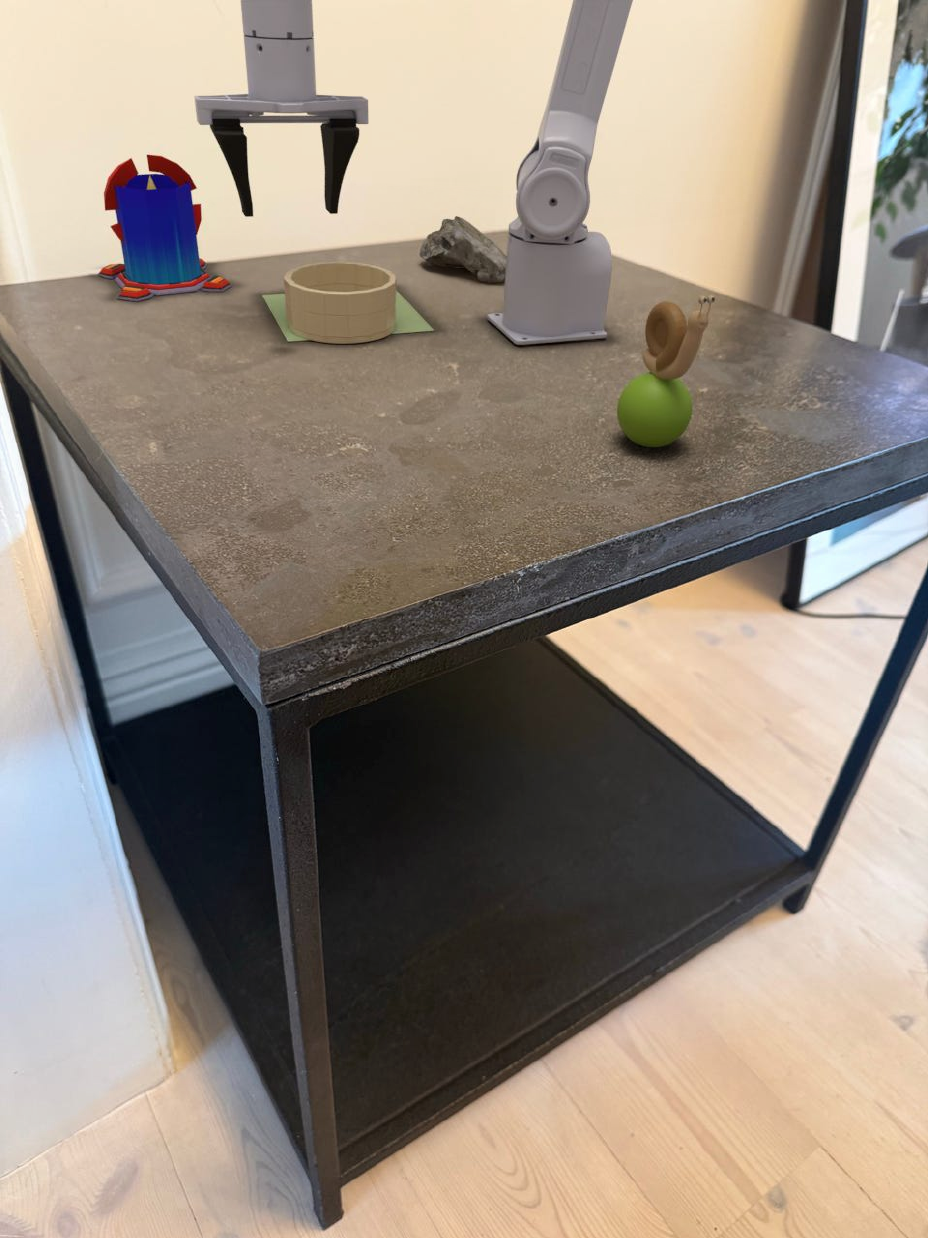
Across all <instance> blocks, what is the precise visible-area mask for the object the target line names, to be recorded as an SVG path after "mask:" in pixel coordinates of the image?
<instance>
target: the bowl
mask: <svg viewBox="0 0 928 1238" xmlns="http://www.w3.org/2000/svg"><path fill="white" fill-rule="evenodd" d="M283 286H284V294H285V303H286V317H287V321H288V327H289V329H290V331H291V332H293V333H294V334H296V335H298V336H300V337H302V338H305V339H308V341H311V342H312V341H313V342H318V343H324V344H339V345H342V344H343V345H346V344H347V345H348V344H350V345H351V344H363V343H368V342H374V341H377V340H381V339H383V338H386V337H388V336H391V335H392V334H391V333H392V332H393V331H394V330H395V328H396V290H397V275H396V274H394V273H393V272H392V271H390V270H389V269H387V268H383V267H381V266H378V265H374V264H369V263H362V262H354V261H325V262H324V261H323V262H313V263H308V264H303V265H299V266H296V267H294V268H292V269H290V270H288V271H286V273H285V275H284V277H283Z"/></svg>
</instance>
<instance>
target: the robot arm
mask: <svg viewBox="0 0 928 1238" xmlns="http://www.w3.org/2000/svg"><path fill="white" fill-rule="evenodd" d="M633 1H634V0H572V4H571V8H570V11H569V15H568V18H567V19H568V20H567V24H566V27H565V31H564V35H563V39H562V44H561V47H560V50H559V51H560V52H559V55H558V58H557V63H556V67H555V71H554V75H553V78H552V79H553V80H552V83H551V87H550V90H549V95H548V98H547V103H546V106H545V109H544V113H543V115H542V118H541V121H540V124H539V128H538V131H537V135H536V139H535V142H534V144H533V146H532V148H531V149H530V150H529V151H528V153H527V154H526V155H525V156H524V158H523V159H522V161H521V163H520V164H519V166H518V169H517V173H516V178H515V184H516V186H515V187H516V193H515V194H516V196H515V207H516V213H517V217H516V218H515V219H514V220H512V221H511V222H510V223H508V233H507V234H508V235H507V243H506V244H507V247H506V256H507V259H506V274H505V278H504V288H503V289H504V291H503V305H502V312H497V313H489V314H487V317H486V318H487V320H488V321H489V322H490V323H491V324H492V325H494V326H495V327H496V328H497V329H498V330H499V331H500V332H501V333H502V334H503V335H505V337H507V338H508V339H509V340H510V341H511V342H513V344H515V345H517V346H524V345H526V346H527V345H537V344H538V345H539V344H548V343H551V344H552V343H561V342H562V343H563V342H577V341H586V340H599V339H606V338H607V337H608V332H607V331H606V330H605V324H606V316H607V310H608V303H609V295H610V286H611V280H612V272H613V257H612V251H611V250H612V249H611V246H610V243H609V241H608V239H607V238H606V236H605V235H604V234H603V233H601V232H599V231H589V229H588V226H587V225H586V223H584V221H585V220H586V218H587V215H588V213H589V210H590V205H591V191H590V185H589V170H590V167H591V162H592V158H593V155H594V148H595V143H596V136H597V129H598V125H599V120H600V117H601V115H602V110H603V107H604V103H605V99H606V96H607V93H608V90H609V85H610V82H611V79H612V75H613V71H614V68H615V65H616V61H617V57H618V55H619V50H620V47H621V44H622V40H623V36H624V33H625V30H626V26H627V22H628V19H629V16H630V12H631V9H632V5H633ZM240 9H241V10H240V11H241V18H242V19H241V20H242V21H241V23H242V33H243V45H244V46H243V47H244V57H245V67H246V68H245V70H246V79H247V80H246V82H247V93H239V94H219V95H215V94H214V95H194V103H195V113H196V121H197V123H198V124H199V125H200V126H209V129H210V130H211V133H212V134H213V136H214V138H215V140H216V142H217V144H218V147H219V148H220V150H221V152H222V154H223V157H224V159H225V161H226V164H227V166H228V168H229V171H230V173H231V176H232V178H233V182H234V184H235V185H234V186H235V187H236V190H237V194H238V199H239V202H240V207H241V213H242V214H243V215H244V217H246V218H247V217H250V218H251V217H254V205H253V204H254V203H253V197H252V192H251V185H250V176H249V160H248V159H249V158H248V157H249V156H248V137H247V136H246V134H245V133H244V131H245V130H244V127H243V126H242V125H241V124H320V126H319V127H320V136H321V143H322V154H323V155H322V156H323V164H324V165H323V166H324V167H323V168H324V190H323V191H324V194H323V195H324V197H323V198H324V206H325V210H326V211H327V212H328V213H329V214H330V215H337V214H338V213H339V203H340V198H341V193H342V192H341V191H342V186H343V182H344V179H345V176H346V173H347V170H348V166H349V163H350V162H351V161H350V160H351V158H352V156H353V153H354V151H355V148H356V146H357V145H358V143H359V138H360V128H359V127H358V126H357V125H369V99H368V98H366V97H364V96H362V95H361V96H360V95H358V96H357V95H356V96H355V95H354V96H353V95H352V96H351V95H332V94H331V95H329V94H317V77H316V54H315V36H314V14H313V13H314V12H313V0H240ZM265 113H268V114H269V113H271V114H306V115H265Z"/></svg>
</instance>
